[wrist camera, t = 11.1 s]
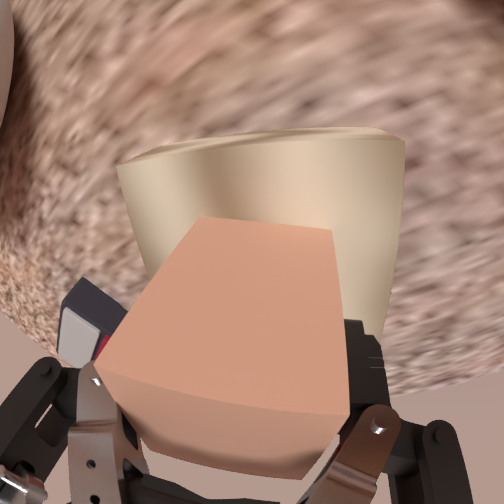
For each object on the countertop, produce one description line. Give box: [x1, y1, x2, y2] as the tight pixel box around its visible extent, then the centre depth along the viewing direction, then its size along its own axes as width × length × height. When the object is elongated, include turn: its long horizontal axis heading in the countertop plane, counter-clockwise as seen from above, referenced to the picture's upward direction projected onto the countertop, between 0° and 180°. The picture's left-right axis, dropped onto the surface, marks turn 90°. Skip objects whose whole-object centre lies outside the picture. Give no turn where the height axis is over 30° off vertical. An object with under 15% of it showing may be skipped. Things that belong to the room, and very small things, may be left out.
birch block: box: [116, 127, 405, 344], centre depth 15 cm, size 12×12×5 cm
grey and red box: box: [56, 277, 128, 368], centre depth 25 cm, size 11×4×15 cm
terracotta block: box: [93, 216, 350, 480], centre depth 10 cm, size 6×6×8 cm
